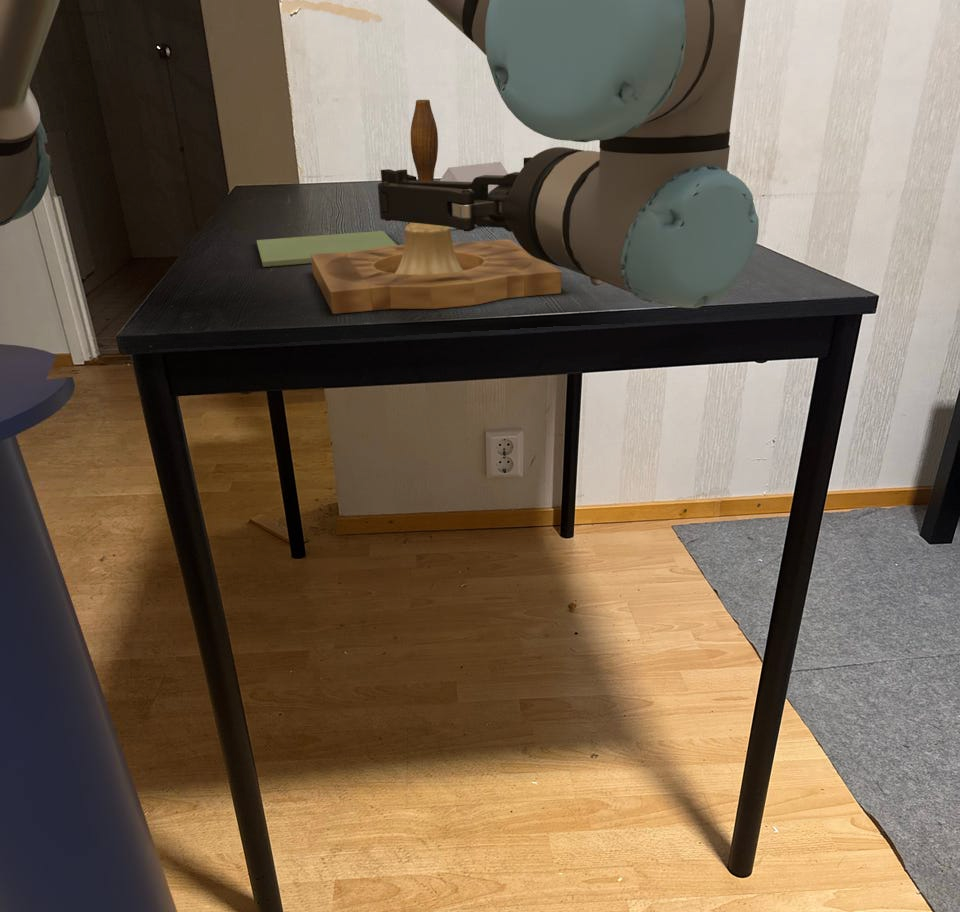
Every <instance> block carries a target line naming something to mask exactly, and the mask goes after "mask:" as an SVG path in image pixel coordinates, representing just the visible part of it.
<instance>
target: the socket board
mask: <svg viewBox="0 0 960 912" xmlns="http://www.w3.org/2000/svg"><path fill="white" fill-rule="evenodd" d="M452 245H453V249H454V252H455V256H456V258H457V260H458V262H459V264H460V266H461V267H462V269H463V271H458V272H453V273H442V274H430V275H406V274H397V273H395V272H396V271H397V269H398V267H399V265H400V262H401V259H402V255H403V250H404V244H397V245H395V246H387V247H380V248H374V249H368V250H362V251H351V252H338V253H325V254H313V255H311V261H312V263H311V267H312V275H313V277H314V279H315V281H316V283H317V285H318V287H319V289H320V291H321V293H322V295H323V298H324V299H325V301H326V303H327V306H328V307H329V310H330V312H331V313H332V315H338V314H339V315H340V314H351V313H360V312H371V311H383V310H436V309H437V310H438V309H448V308H449V309H450V308H458V307H469V306H478V305H482V304H486V303H490V302H495V301H496V302H497V301H501V300H505V299H513V298H514V299H515V298H523V297H533V296H535V297H536V296H547V295H555V294H556V295H558V294H561V293H562V271H561V270H560V269H558V268H557V267H555V266H554V265H553V264H551V263H548V262H545V261H543V260H540V259H537V258H535V257H533V256H531V255H530V254H529V253H527V252H526V251H525V250H524V249H523V248H522V247H521V245H520V244H518V243H516V242H514V241H513V240H511V239H510V238H505V239H492V240H479V241H478V240H477V241H466V242H452Z"/></svg>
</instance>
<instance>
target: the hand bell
mask: <svg viewBox="0 0 960 912" xmlns="http://www.w3.org/2000/svg"><path fill="white" fill-rule="evenodd" d="M410 150H411V156H412V160H413V163H414V167H415V170H416V171H415V172H416V174H417V181H435V169H436V164H437V161H438V152H439V133H438V127H437V123H436V119H435V116H434V113H433V110H432V106H431V101H430V100H429V99H416V100H415V106H414V111H413V116H412V120H411V125H410ZM452 243H453V239H452V233H451V229H450V227H448V226H439V225H430V224H421V223H412V222H409V223H408V224H407V225H406V226H405V228H404V243H403V245H404V250H403V255H402V259H401V262H400V265H399V267H398V269H397V271H396V272H395V273H397V274H406V275H430V274H442V273H453V272H458V271H463V269H462V267H461V266H460V264H459V262H458V260H457V258H456V256H455V252H454V249H453V245H452Z"/></svg>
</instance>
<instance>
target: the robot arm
mask: <svg viewBox="0 0 960 912" xmlns="http://www.w3.org/2000/svg"><path fill="white" fill-rule="evenodd" d="M60 1H61V0H0V227H3V226H6V225H7V224H9V223H11V222H13V221H16V220H19V219H22V218H23V217H25V216H27V215H28V214H30V213H31V212H33V210H34V209H36V207H37V206H38V205H39V203H40V202H41V201H42V199H43V197H44V195H45V193H46V191H47V188H48V185H49V180H50V174H51V155H49V154H48V152H47V153H46V152H45V148H44V145H45V144H48V137H47V133H46V131H45V128H44V125H43V122H42V120H41V112H40V107H39V105H38V102H37V100H36V97H35V95H34V93H33V91H32V90H31V88H30V84H31V81H32V79H33V76H34V73H35V70H36V67H37V65H38V62H39V59H40V57H41V54H42V51H43V48H44V46H45V43H46V40H47V38H48V35H49V31H50V29H51V26H52V23H53V20H54V18H55V15H56V12H57V10H58V7H59V4H60ZM426 1H427V2H428V3H429V4H430V5H431V6H433V8H435V9H436V10H437V11H438V12H439V13H440V14H441V15H443V16H444V17H445V18H446V19H447V20H448V21H449V22H450V23H451V24H452V25H454V27H456V29H458V30H459V31H460V32H461V33H462V34H463V35H464V36H465V37H466V38H468V39H469V40H470V41H471V42H472V43H473V44H475V46H476V47H477V48H478V49H479V51H481V52H482V53H483V54H484V55H485V56H486V61H487V64H488V67H489V70H490V73H491V76H492V80H493V82H494V86H495V87H496V89H497V91H498V94H499V96H500V98H501V99H502V101H503V103H504V104H505V106H506V108H507V109H508V110H509V111H510V112H511V114H512V115H513V116H514V117H515V118H516V120H518V121H519V122H520V123H522V124H523V126H525V127H527V128H528V129H529V130H531V131H533V132H534V133H537V134H539V135H541V136H543V137H546V138H550V139H553V140H557V141H567V142H568V141H571V142H576V143H589V142H594V141H599V147H598V148H599V151H596V150H585V149H577V148H570V147H566V146H565V147H564V146H555V147H550V148H547V149H545V150H544V149H543V150H542V151H540V152H538V153H536V154H535V155H534V156H530V157H523V167H522V168H521V170H520V171H513V172H510V173H508V174H507V175H483V176H479V177H476V178H474V180H473V182H453V181H440V180H434V181H418V178H417V176H414V175H411V174H408V169H397V170H392V169H389V168H388V169H387V168H386V169H380V181H381V182H379V183H378V184H377V194H378V204H379V205H378V206H379V218H380V220H384V221H385V222H390V221H392V222H393V221H395V222H403V223H421V224H430V225H439V226H448V227H452V228H456V229H455V230H461V231H463V232H471V231H474V230H475V229H476V227H482V228H500V229H501V228H503V229H504V230H506V231H507V232H509V233H511V232H512V234H513V236H514V238H515V240H516V242H518V243H517V244H518V245H519V246H521V247H522V248H523V249H524V250H525V251H526V252H527V253H529V254H530V255H531V256H533V257H535V258H537V259H540V260H543V261H545V262H547V263H548V264H550V265H553V266H557V267H561V268H564V269H567V270H569V271H572V272H575V273H579V274H581V275H584V276H586V277H588V278H589V280H590V283H591V284H592V285H593V286H601V285H602V284H604V283H605V284H608V285H611V286H612V287H615V288H618V289H620V290H622V291H625V292H628V293H630V294H632V295H633V296H634V297H635V298H638V299H640V300H642V301H645V302H648V303H653V302H654V303H657V304H658V303H659V304H661V305H665V306H672V307H676V308H684V309H697V308H701V307H703V306H708V305H710V304H712V303H715V302H716V301H717V300H719V299H721V298H722V297H724V296H725V295H726V294H727V293H729V292H730V291H731V290H732V289H733V288H734V287H735V286H736V284H738V282H739V281H740V280H741V278H742V277H743V275H744V274H745V272H746V270H747V269H748V266H749V265H750V263H751V261H752V259H753V255H754V254H755V251H756V246H757V242H758V238H759V225H760V221H759V220H760V219H759V216H758V214H757V211H756V206H755V203H754V197H753V193H752V191H751V190H750V188H749V187H748V185H746V183H745V182H744V181H743V180H741V178H739V177H738V176H736V175H734V174H732V173H730V171H729V170H728V166H729V165H728V164H729V159H730V158H729V157H730V151H731V150H730V149H731V145H730V139H731V138H730V137H731V132H730V131H731V124H732V116H733V107H734V99H735V97H734V96H735V93H736V92H735V90H736V84H737V75H738V66H739V58H740V51H741V50H740V49H741V43H742V42H741V41H742V35H743V26H744V18H745V10H746V2H747V0H426ZM488 185H498V186H497V187H495V188H494V189H493V190H491V191H490V192H489V194H488ZM475 225H477V226H476V227H475Z"/></svg>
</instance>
